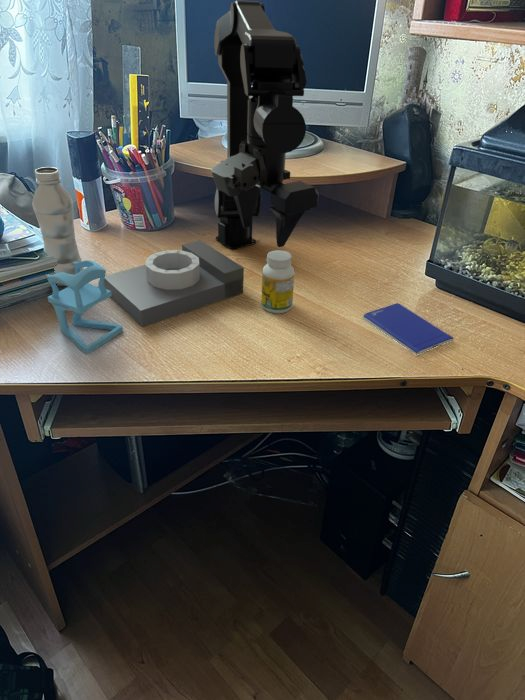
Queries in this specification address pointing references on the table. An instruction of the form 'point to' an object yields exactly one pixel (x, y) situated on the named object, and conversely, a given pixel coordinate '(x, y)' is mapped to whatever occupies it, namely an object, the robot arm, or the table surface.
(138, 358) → the table surface
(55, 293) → the chair
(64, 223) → the plastic bottle
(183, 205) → the table surface
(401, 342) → the hard drive
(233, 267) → the grey ring holder base
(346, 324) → the table surface
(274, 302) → the supplement bottle
